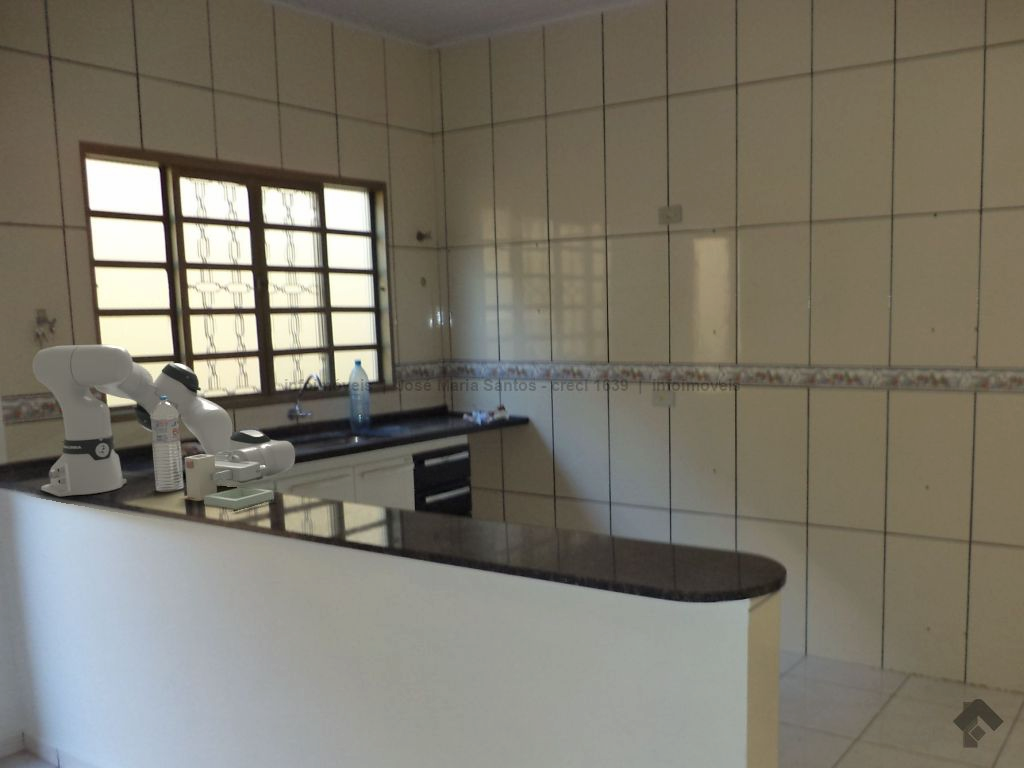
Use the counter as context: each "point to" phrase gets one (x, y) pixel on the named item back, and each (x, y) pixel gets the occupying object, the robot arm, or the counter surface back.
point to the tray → (239, 498)
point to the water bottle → (166, 447)
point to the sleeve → (200, 475)
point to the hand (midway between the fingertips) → (199, 476)
